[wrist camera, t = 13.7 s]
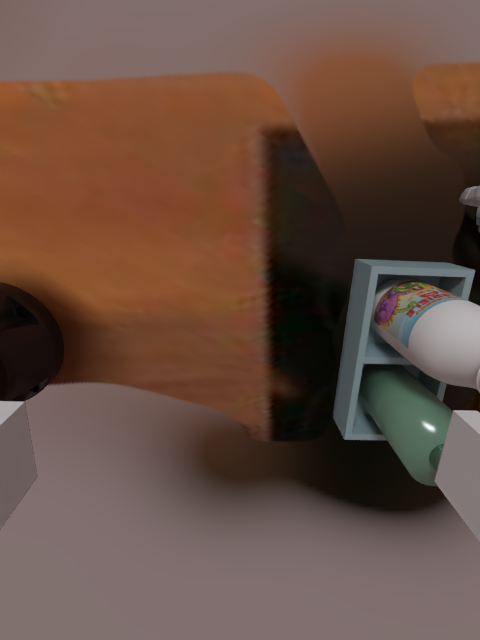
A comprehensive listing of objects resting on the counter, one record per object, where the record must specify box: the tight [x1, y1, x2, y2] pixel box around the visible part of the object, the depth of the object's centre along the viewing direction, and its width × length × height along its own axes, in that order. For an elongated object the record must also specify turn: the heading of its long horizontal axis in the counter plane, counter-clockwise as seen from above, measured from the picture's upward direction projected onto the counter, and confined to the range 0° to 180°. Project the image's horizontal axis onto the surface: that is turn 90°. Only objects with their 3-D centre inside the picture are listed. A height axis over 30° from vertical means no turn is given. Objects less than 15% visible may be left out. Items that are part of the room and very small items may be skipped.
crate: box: [333, 259, 475, 440], centre depth 42 cm, size 11×21×5 cm, turn 178°
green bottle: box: [358, 364, 453, 486], centre depth 37 cm, size 7×7×19 cm
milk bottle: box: [370, 277, 480, 392], centre depth 33 cm, size 8×8×20 cm
